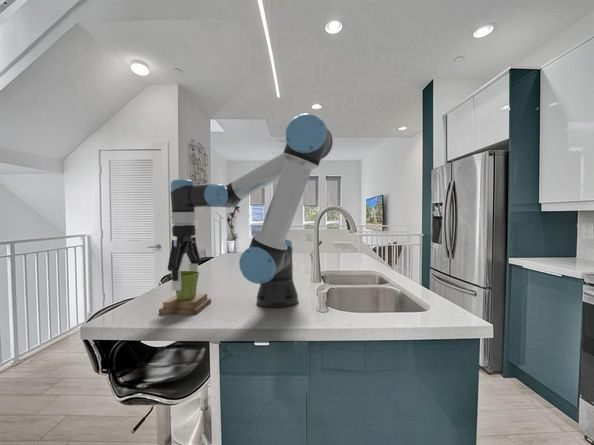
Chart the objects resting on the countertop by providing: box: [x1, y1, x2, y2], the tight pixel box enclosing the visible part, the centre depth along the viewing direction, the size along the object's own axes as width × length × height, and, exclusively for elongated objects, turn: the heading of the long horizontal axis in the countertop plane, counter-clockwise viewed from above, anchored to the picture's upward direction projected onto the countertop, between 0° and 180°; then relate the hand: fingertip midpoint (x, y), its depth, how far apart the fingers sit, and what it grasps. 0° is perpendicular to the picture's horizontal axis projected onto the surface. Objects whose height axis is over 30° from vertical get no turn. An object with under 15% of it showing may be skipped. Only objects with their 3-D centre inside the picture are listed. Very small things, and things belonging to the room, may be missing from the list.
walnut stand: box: [158, 293, 212, 315], centre depth 111 cm, size 13×13×4 cm
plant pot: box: [170, 270, 200, 300], centre depth 110 cm, size 9×9×9 cm
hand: (186, 285), depth 110 cm, fingers open, 13 cm apart
